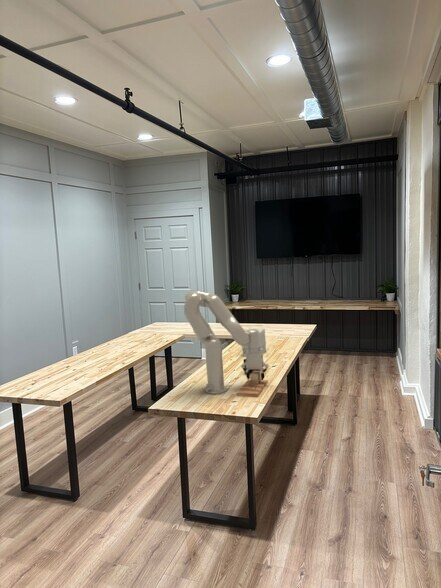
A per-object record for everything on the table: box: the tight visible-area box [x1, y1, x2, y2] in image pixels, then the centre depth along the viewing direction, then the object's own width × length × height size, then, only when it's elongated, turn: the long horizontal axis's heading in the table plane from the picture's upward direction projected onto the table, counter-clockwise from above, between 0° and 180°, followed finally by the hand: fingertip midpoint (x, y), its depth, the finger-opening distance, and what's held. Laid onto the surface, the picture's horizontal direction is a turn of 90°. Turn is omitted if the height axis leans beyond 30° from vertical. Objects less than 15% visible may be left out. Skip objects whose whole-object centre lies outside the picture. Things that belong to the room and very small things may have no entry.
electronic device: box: [243, 358, 261, 375], centre depth 271 cm, size 4×10×10 cm, turn 51°
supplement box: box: [241, 328, 267, 358], centre depth 318 cm, size 17×13×18 cm
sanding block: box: [249, 371, 261, 385], centre depth 250 cm, size 7×4×6 cm, turn 160°
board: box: [236, 378, 269, 398], centre depth 244 cm, size 24×12×2 cm, turn 161°
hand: (255, 378), depth 250 cm, fingers open, 8 cm apart
